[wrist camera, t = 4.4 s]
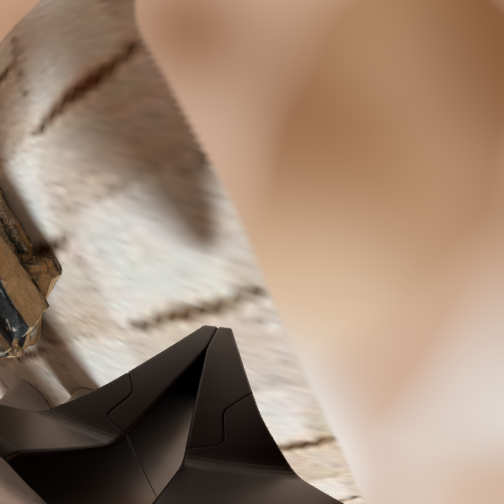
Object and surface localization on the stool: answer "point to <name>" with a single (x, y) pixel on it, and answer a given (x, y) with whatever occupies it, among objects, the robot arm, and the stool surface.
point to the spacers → (31, 397)
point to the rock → (21, 286)
